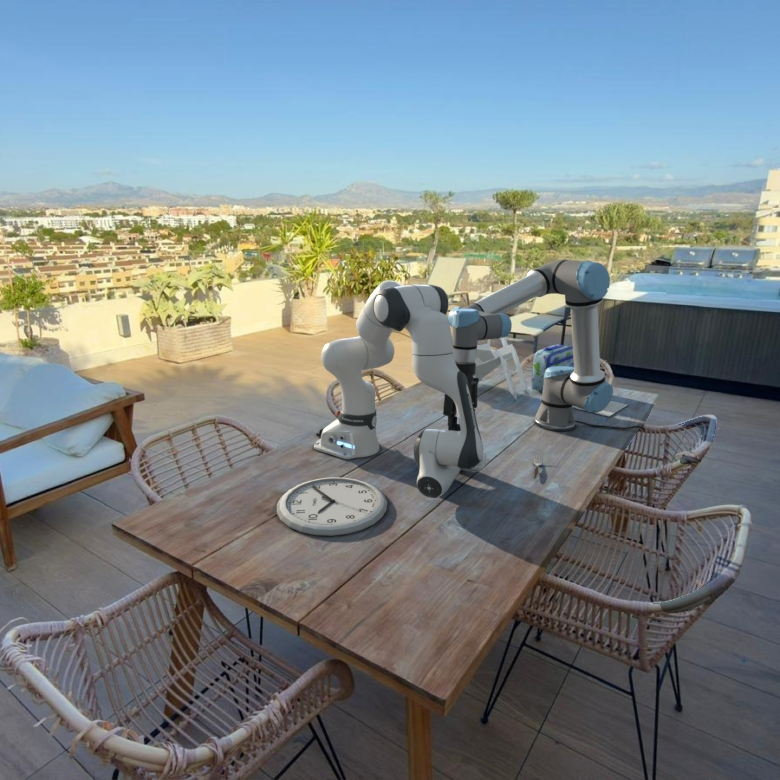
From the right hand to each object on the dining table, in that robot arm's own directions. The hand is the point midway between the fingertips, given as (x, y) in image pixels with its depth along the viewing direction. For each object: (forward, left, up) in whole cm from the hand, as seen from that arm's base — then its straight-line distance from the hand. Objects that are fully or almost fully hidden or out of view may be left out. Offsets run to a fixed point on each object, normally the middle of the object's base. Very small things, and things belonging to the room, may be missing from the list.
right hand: (459, 433), depth 163 cm
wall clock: (+34, +29, -12) cm, 46 cm away
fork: (-25, -2, -12) cm, 28 cm away
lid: (0, 0, +4) cm, 4 cm away
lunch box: (-45, -93, -12) cm, 104 cm away
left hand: (0, -1, -5) cm, 5 cm away
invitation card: (-62, -70, -12) cm, 94 cm away
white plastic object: (-11, -82, -12) cm, 84 cm away
